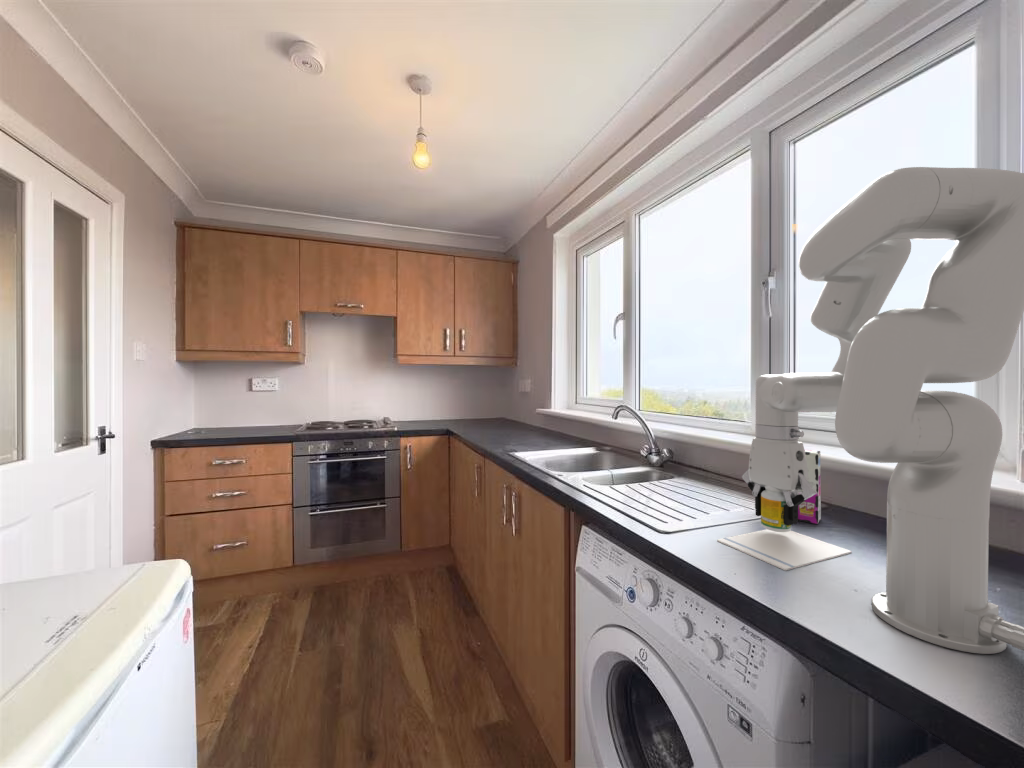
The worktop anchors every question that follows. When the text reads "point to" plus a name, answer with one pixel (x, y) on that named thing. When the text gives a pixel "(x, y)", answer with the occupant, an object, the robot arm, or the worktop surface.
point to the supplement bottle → (773, 510)
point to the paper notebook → (784, 548)
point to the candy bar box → (812, 505)
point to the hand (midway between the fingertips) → (775, 518)
